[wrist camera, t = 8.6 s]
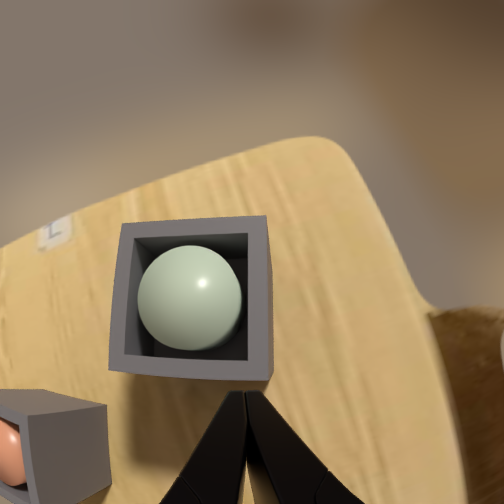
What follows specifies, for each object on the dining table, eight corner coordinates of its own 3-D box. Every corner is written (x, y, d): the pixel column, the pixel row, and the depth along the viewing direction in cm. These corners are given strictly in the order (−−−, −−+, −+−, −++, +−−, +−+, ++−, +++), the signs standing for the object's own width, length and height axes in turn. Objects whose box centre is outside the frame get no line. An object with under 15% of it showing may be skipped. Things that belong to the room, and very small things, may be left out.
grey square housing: (111, 483, 18) (43, 520, 9) (47, 461, 18) (-24, 478, 10) (106, 404, 20) (27, 415, 12) (42, 389, 21) (-36, 386, 12)
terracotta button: (51, 487, 12) (28, 496, 10) (7, 465, 13) (-16, 470, 10) (44, 425, 14) (17, 429, 11) (1, 408, 14) (-24, 408, 12)
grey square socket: (273, 371, 20) (268, 380, 12) (173, 368, 21) (108, 370, 12) (272, 271, 22) (266, 215, 14) (176, 273, 23) (121, 223, 15)
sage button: (245, 352, 15) (238, 351, 12) (155, 349, 15) (134, 346, 13) (245, 261, 16) (239, 243, 14) (160, 263, 17) (142, 247, 14)
